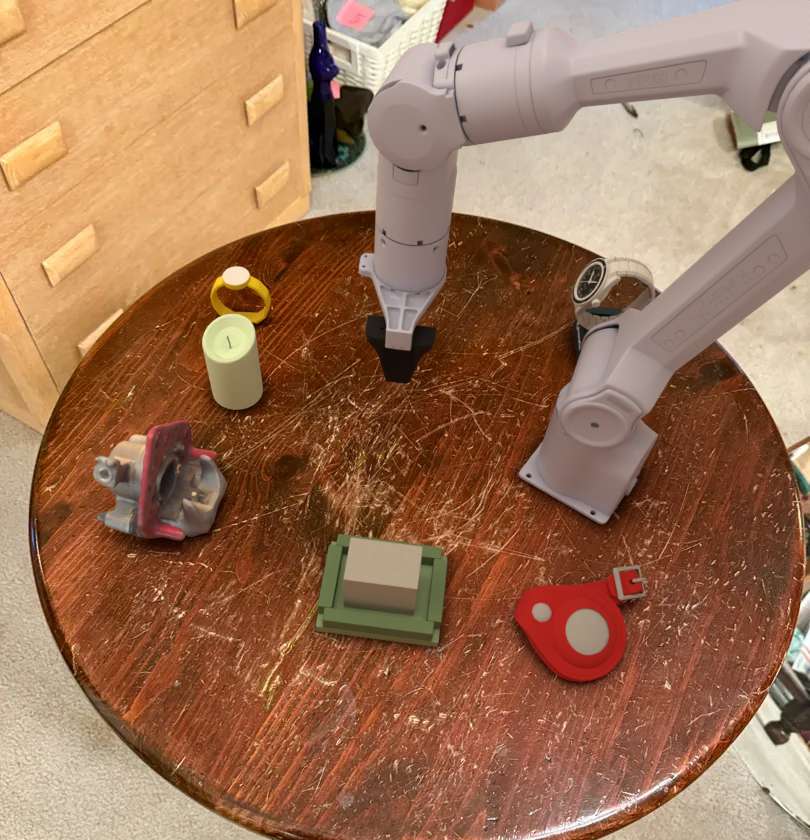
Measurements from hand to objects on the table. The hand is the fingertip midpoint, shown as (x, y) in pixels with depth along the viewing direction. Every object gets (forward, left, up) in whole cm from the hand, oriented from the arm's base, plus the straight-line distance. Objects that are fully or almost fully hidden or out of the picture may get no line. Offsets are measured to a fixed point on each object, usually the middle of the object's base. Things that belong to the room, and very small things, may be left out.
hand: (402, 347), depth 74 cm
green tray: (-11, +17, -9) cm, 22 cm away
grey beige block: (-11, +17, -8) cm, 22 cm away
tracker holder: (-27, +9, -10) cm, 30 cm away
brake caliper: (+10, +21, -10) cm, 26 cm away
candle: (+14, +7, -10) cm, 19 cm away
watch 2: (+20, -1, -10) cm, 23 cm away
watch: (-12, -21, -10) cm, 26 cm away
